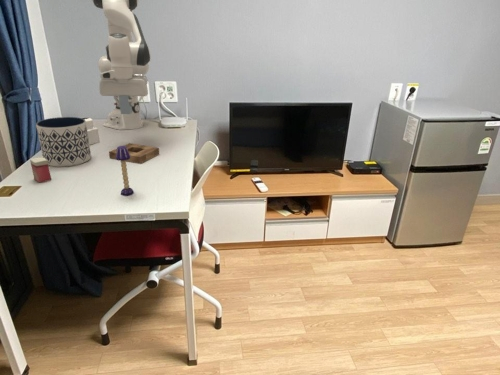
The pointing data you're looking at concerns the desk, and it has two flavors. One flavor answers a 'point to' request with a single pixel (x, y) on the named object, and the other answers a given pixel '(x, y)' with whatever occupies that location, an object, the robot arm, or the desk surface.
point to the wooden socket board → (138, 153)
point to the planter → (64, 141)
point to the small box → (40, 169)
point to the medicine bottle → (92, 131)
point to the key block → (125, 104)
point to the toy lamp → (124, 168)
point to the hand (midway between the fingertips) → (125, 106)
